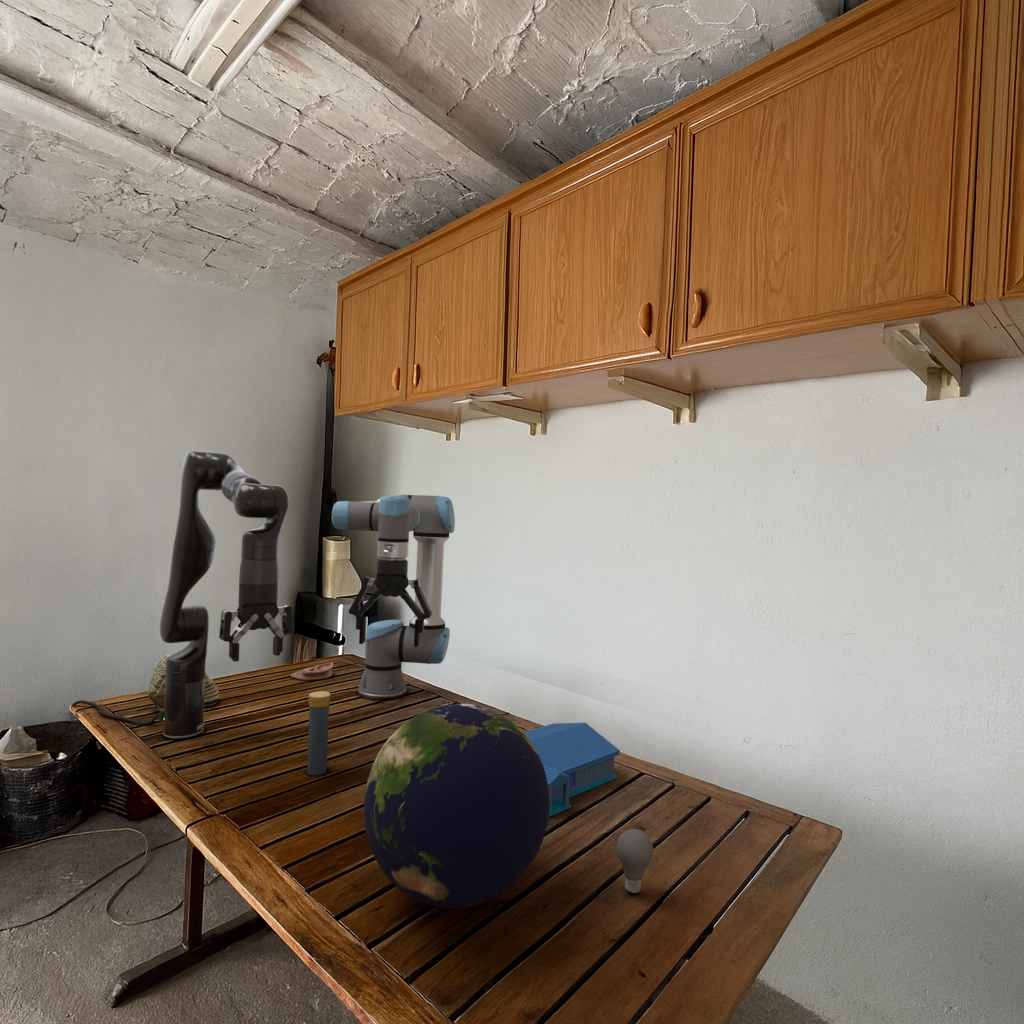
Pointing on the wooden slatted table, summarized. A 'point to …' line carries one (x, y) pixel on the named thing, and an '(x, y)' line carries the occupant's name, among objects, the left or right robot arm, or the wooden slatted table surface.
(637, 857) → the light bulb
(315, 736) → the grey bottle
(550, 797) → the model building
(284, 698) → the wooden slatted table surface
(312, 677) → the anatomical model
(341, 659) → the wooden slatted table surface
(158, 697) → the fossil
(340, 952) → the wooden slatted table surface
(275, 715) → the wooden slatted table surface
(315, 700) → the lid
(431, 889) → the globe
